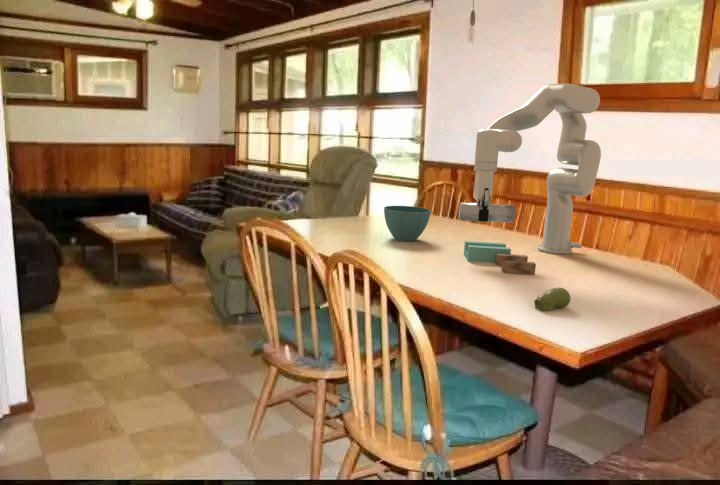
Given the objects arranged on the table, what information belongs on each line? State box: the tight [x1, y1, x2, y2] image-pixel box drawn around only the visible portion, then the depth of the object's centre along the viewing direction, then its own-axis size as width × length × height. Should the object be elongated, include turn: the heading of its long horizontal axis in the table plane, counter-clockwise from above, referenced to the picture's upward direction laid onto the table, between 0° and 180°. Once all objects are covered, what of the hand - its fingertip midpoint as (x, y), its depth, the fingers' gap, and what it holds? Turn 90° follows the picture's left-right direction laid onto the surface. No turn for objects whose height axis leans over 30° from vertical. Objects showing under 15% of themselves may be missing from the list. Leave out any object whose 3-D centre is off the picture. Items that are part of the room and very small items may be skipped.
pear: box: [533, 287, 571, 312], centre depth 150 cm, size 6×5×10 cm
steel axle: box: [458, 202, 516, 223], centre depth 201 cm, size 18×6×6 cm, turn 88°
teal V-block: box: [463, 240, 512, 264], centre depth 204 cm, size 14×11×5 cm
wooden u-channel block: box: [494, 253, 537, 276], centre depth 192 cm, size 10×13×4 cm
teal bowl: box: [383, 205, 431, 242], centre depth 232 cm, size 18×18×12 cm
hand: (481, 219), depth 202 cm, fingers closed on steel axle, 6 cm apart
